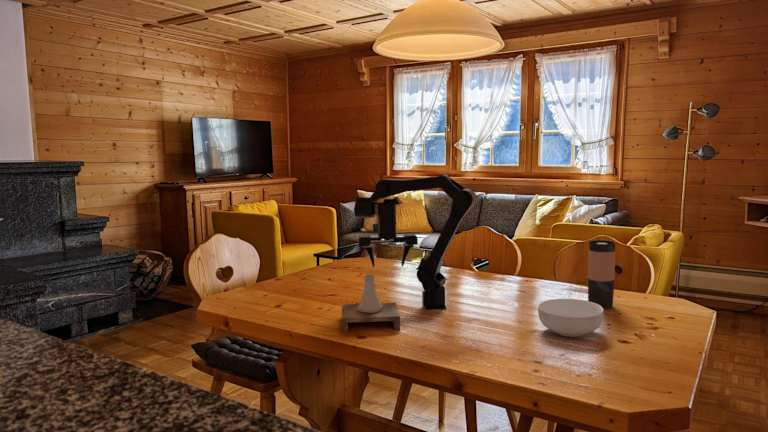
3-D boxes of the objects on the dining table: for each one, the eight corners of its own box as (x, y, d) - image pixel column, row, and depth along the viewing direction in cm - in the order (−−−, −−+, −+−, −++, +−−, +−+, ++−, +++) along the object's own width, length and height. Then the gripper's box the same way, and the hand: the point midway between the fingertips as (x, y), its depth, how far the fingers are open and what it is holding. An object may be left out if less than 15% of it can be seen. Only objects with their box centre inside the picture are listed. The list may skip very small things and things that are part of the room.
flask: (375, 315, 158) (374, 279, 157) (352, 311, 162) (351, 277, 160) (387, 308, 164) (386, 274, 163) (365, 305, 168) (364, 272, 167)
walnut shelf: (395, 315, 171) (395, 302, 171) (400, 330, 157) (400, 316, 157) (342, 317, 170) (341, 304, 169) (342, 332, 156) (341, 318, 156)
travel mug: (617, 305, 178) (619, 241, 175) (607, 310, 172) (609, 245, 170) (593, 301, 183) (595, 239, 180) (583, 306, 177) (584, 242, 175)
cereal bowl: (531, 322, 162) (531, 298, 161) (590, 322, 162) (591, 297, 161) (546, 343, 145) (546, 316, 144) (612, 342, 145) (613, 315, 144)
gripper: (413, 214, 190) (413, 260, 192) (357, 216, 189) (358, 262, 191) (417, 218, 179) (418, 267, 181) (358, 220, 178) (359, 269, 180)
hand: (388, 266), depth 183 cm, fingers open, 9 cm apart
